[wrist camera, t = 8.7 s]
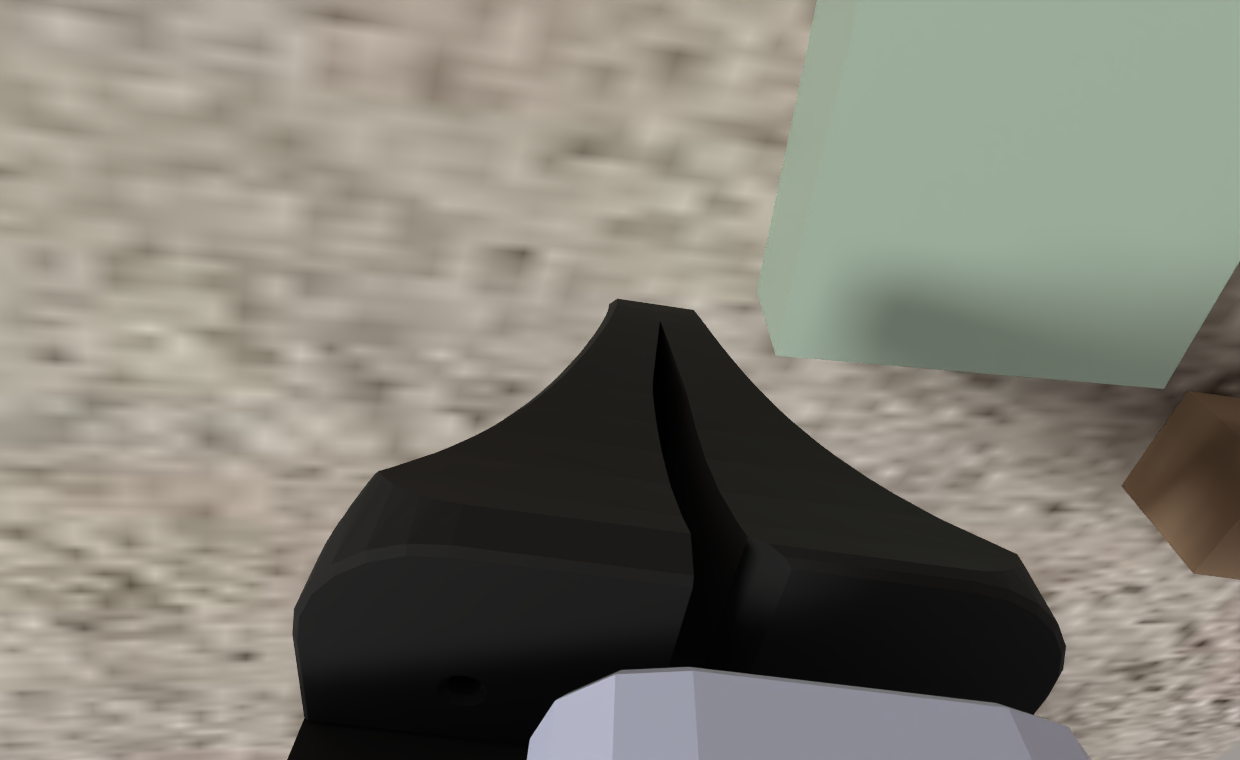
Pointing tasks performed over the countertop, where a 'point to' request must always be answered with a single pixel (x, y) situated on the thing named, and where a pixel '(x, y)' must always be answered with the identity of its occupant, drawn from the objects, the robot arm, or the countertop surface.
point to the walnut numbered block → (1195, 483)
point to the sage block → (1009, 186)
